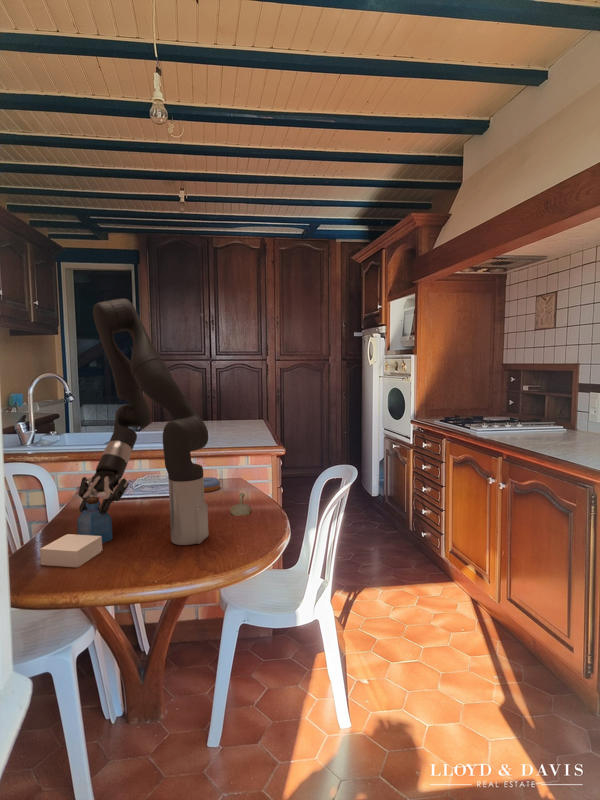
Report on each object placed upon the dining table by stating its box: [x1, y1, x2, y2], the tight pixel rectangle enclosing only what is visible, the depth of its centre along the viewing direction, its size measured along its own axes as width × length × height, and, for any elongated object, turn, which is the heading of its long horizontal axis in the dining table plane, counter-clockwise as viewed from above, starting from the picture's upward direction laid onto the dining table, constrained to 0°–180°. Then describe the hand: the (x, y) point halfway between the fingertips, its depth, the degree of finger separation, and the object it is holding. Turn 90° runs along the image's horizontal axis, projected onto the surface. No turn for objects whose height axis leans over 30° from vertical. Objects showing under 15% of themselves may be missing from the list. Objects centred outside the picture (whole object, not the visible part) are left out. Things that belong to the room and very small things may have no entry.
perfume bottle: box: [76, 496, 113, 544], centre depth 133 cm, size 6×6×12 cm
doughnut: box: [203, 476, 221, 493], centre depth 185 cm, size 10×10×5 cm
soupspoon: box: [230, 492, 252, 517], centre depth 164 cm, size 22×3×7 cm
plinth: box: [39, 533, 103, 568], centre depth 123 cm, size 10×10×4 cm
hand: (92, 512), depth 132 cm, fingers closed on perfume bottle, 5 cm apart
